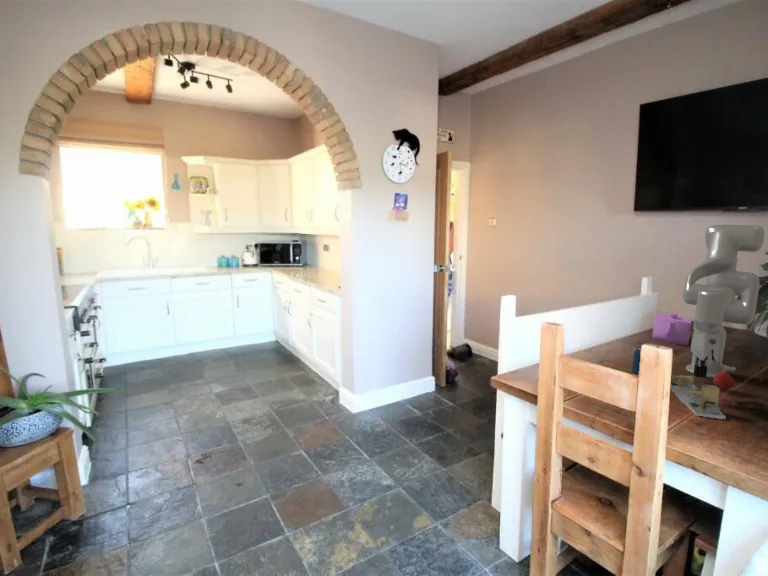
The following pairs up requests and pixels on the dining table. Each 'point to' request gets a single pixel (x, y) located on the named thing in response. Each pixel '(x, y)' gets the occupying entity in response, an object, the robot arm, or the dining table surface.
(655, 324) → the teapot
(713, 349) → the robot arm
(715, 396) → the sliding jaw
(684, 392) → the board
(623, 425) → the dining table surface
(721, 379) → the onion
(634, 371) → the soda can
